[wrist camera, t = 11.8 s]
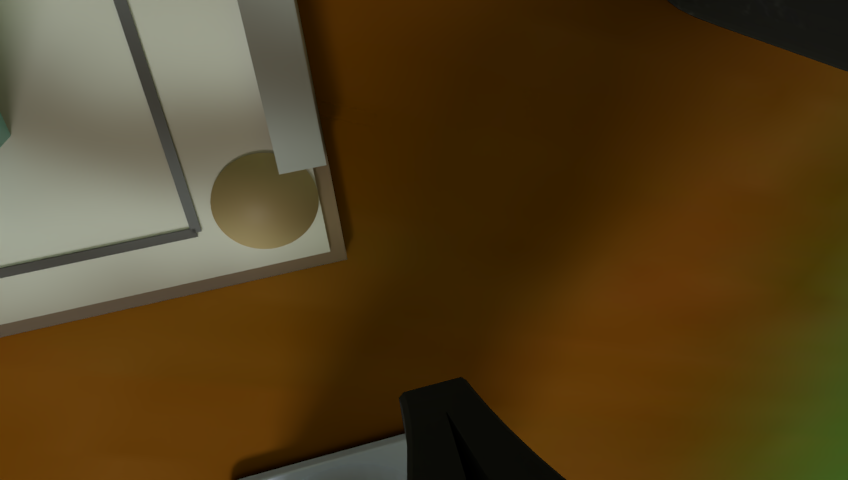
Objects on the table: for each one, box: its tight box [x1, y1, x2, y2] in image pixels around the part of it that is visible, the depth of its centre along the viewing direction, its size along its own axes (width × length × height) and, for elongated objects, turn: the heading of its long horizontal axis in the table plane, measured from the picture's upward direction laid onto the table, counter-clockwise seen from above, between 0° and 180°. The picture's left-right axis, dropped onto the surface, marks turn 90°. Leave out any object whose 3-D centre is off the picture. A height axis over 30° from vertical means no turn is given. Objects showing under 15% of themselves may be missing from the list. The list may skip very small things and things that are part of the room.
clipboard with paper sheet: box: [0, 0, 347, 337], centre depth 17 cm, size 12×15×1 cm
